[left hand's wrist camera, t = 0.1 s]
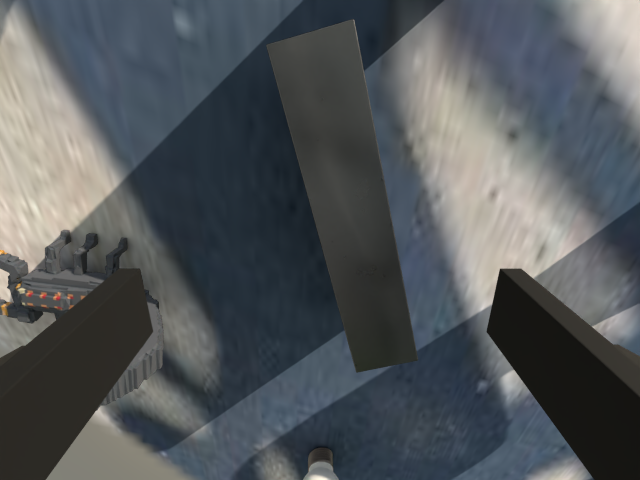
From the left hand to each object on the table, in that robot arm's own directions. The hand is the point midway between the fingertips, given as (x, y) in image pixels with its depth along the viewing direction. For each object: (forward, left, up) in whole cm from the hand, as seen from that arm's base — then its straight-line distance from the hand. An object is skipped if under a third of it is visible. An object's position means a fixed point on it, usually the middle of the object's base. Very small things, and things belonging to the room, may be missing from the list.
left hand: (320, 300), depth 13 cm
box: (+3, +3, -28) cm, 28 cm away
